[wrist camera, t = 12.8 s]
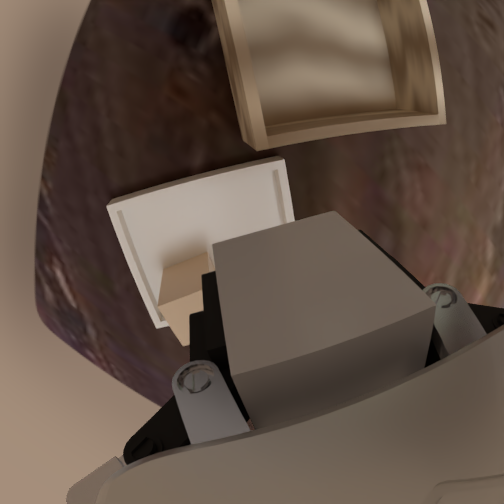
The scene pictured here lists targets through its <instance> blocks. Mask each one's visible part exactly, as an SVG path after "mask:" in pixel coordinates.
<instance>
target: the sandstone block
mask: <svg viewBox="0 0 504 504" xmlns="http://www.w3.org/2000/svg"><path fill="white" fill-rule="evenodd" d="M212 271H215V267H214V265H213V263H212V261H211V258H210V256H209V254H208V252H206V253H203V254H200V255H198V256H195V257H193V258H190V259H188V260H185V261H183V262H180V263H178V264H175V265H173V266H171V267H168V268H166V269H163V273H162V280H161V286H160V293H159V299H158V306H157V307H158V309H159V310H160V312H161V313H162V315H163V316H164V318H165V320H166V321H167V323H168V324H169V326H170V327H171V329H172V330H173V332H174V334H175V335H176V337H177V338H178V340H179V341H180V343H181V344H182V346H186V345H189V344H190V336H189V315H190V314H192V313H196V312H199V311H203V295H202V279H201V275H202V274H205V273H209V272H212Z"/></svg>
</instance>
